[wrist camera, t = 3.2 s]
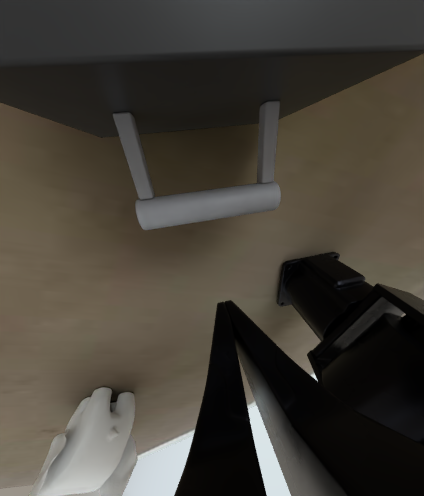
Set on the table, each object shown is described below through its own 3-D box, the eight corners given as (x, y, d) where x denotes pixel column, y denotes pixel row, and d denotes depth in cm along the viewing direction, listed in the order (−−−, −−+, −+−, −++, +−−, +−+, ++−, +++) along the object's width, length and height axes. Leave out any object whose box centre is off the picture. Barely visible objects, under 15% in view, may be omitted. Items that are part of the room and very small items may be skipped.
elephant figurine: (45, 415, 22) (-26, 549, 14) (97, 372, 20) (44, 505, 12) (109, 421, 26) (81, 528, 19) (158, 388, 24) (148, 492, 16)
